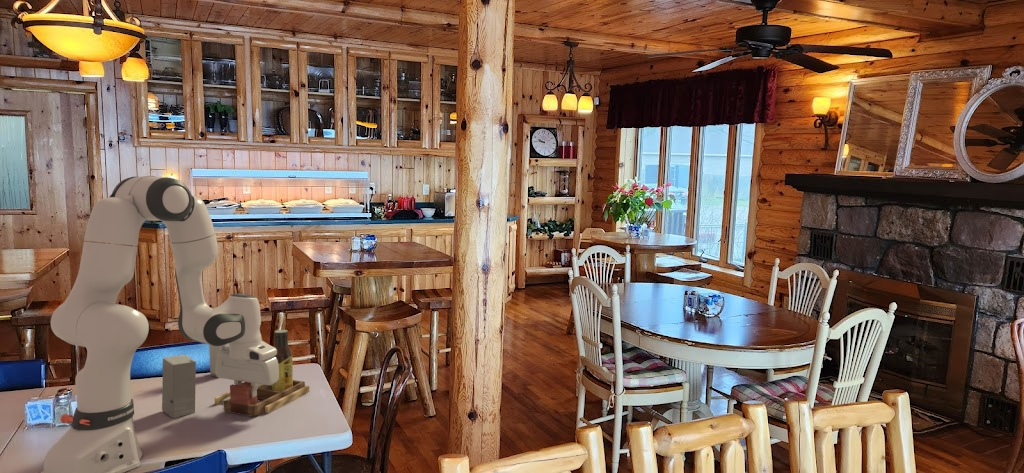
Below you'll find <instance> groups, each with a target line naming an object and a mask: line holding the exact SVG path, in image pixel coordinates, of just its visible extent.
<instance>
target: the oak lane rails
mask: <svg viewBox="0 0 1024 473" xmlns="http://www.w3.org/2000/svg"><path fill="white" fill-rule="evenodd" d="M308 392H309V393H310V385H305V387H303V388H301V389H299V390H297V391H295V392H293V393H291V394H289V395H287V396H285V397H283V398H281V399H279V400H277V401H275V402H273V403H271V404H269V405H267V406H265V412H264V414H270V413H272V412H274V411H276V410H278V409H280V408H281V407H284V406H286V405H287V404H290V403H291V402H293V401H295V400H297V399H298V398H301V397H303V396H305V395H307V394H309V393H308ZM306 393H307V394H306ZM302 395H303V396H302ZM228 397H230V390H229V391H227V392H225V393H223V394H221V395H218V396H215V397H214V405H215V406H218V404H219V405H220V404H223V403H222V400H224V399H226V398H228Z"/></svg>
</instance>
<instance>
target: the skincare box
mask: <svg viewBox="0 0 1024 473" xmlns="http://www.w3.org/2000/svg"><path fill="white" fill-rule="evenodd" d="M196 362H197V361H196V360H195V359H193V358H192V356H191V357H190V356H188V355H186V354H179V355H173V356H165V357H163V358H162V390H161V391H162V392H161V395H162V398H161V401H162V402H161V411H162V412H164V413H165V414H167V415H168V416H169V417H171V418H173V419H176V418H179V417H183V416H188V415H192V414H195V413H196V374H197V371H196V370H197V369H196V368H197V367H196V366H197V363H196Z"/></svg>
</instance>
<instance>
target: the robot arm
mask: <svg viewBox="0 0 1024 473" xmlns="http://www.w3.org/2000/svg"><path fill="white" fill-rule="evenodd" d="M90 212H91V213H90V214H89V215H90V216H89V218H88V220H87V224H86V229H85V233H84V238H83V244H82V253H81V258H80V264H79V269H78V273H77V276H76V279H75V281H74V283H73V286H72V289H71V290H70V293H69V294H68V295H67V298H65V300H64V302H63V303H61V304H60V305H59V306H58V307H56V308H55V310H54V311H53V313H52V316H51V317H50V329H51V331H52V332H53V334H54V335H55V336H56V337H57V338H59V339H61V340H62V341H64V342H66V343H68V344H70V345H73V346H76V347H77V346H79V347H83V348H86V351H87V352H86V360H85V363H84V365H83V368H81V369H80V370H79V371H78V372H77V374H76V375H75V393H76V394H75V395H76V408H75V411H74V412H73V415H72V414H67V413H63V414H62V415H61V416H60V418H59V421H60V423H61V424H62V423H63V424H65V425H66V424H67V425H68V424H69V425H70V427H69V429H68V430H66V432H65V433H63V435H62V436H61V437H60V438H59V439H58V440H57V441H56V442H55V443H54V444H53V445H52V446H51V448H49V450H48V451H47V452H46V454H45V456H44V461H43V462H44V463H43V470H42V471H40V472H39V473H126V472H128V471H131V470H134V469H136V468H138V467H140V465H141V462H140V461H141V460H140V459H141V458H142V456H143V451H142V450H141V448H140V445H139V441H138V438H137V435H136V434H137V433H136V429H135V423H134V418H133V417H134V415H135V405H134V399H133V398H132V392H131V391H132V390H131V368H132V362H133V359H134V356H135V353H136V351H137V349H138V348H140V347H141V346H142V345H143V344H144V343H145V341H146V339H147V338H148V334H149V330H150V325H149V321H148V319H147V317H146V315H145V314H143V313H142V312H141V311H139V310H137V309H134V307H133V308H132V307H131V306H128V305H124V304H118V303H116V302H117V299H118V297H119V294H120V292H121V291H122V289H123V288H124V287H125V286H126V285H127V284H128V283H129V282H131V281H132V279H133V278H134V275H135V268H136V261H137V252H138V245H139V238H140V237H139V236H140V235H139V233H140V230H141V228H142V226H143V224H144V223H145V222H146V221H150V222H151V221H154V222H158V221H161V222H162V223H163V224H164V225H165V227H166V230H167V234H168V235H167V236H168V238H169V243H170V247H171V251H172V255H173V256H172V257H173V261H174V264H173V265H174V276H175V282H176V289H177V294H178V301H179V312H178V314H179V315H178V321H177V325H178V326H177V328H178V331H179V333H180V334H181V335H182V336H183V337H184V339H187V340H189V341H193V342H199V343H202V344H206V345H208V346H209V345H212V346H221V347H220V348H218V350H217V358H216V365H215V374H216V376H217V377H216V378H219V379H225V380H231V381H233V385H239V384H241V383H244V382H250V383H251V386H253V387H252V389H251V390H250V391H249V393H250V397H255V396H257V389H258V387H259V385H260V384H263V385H272V384H274V383H276V382H277V381H278V379H279V366H278V361H277V359H276V357H274V356H275V355H276V354H277V349H276V348H275V346H272V345H270V344H268V343H267V342H265V341H263V338H262V336H263V335H262V334H261V325H262V319H261V316H262V315H261V307H260V302H259V299H258V298H257V297H256V296H255V295H252V294H247V293H246V294H245V293H232V294H229V296H228V297H227V299H226V300H224V302H222V303H221V304H220V305H218V306H216V307H214V308H211V307H210V306H209V305H208V304H207V302H206V300H205V296H204V288H203V281H202V273H203V271H204V270H205V269H206V268H208V267H210V266H211V265H212V264H213V263H214V262H215V260H216V259H217V257H218V252H219V251H218V250H219V248H218V247H219V246H218V240H217V235H216V231H215V228H214V224H213V220H212V218H211V215H210V212H209V210H208V208H207V206H206V204H205V202H204V200H202V198H200V197H198V196H195V195H192V193H191V190H190V189H189V187H187V185H186V184H185V183H183V182H182V181H180V180H179V179H176V178H174V177H173V178H172V177H167V176H165V177H162V176H157V175H156V176H154V175H142V176H130V177H127V178H125V179H122V180H121V181H120V182H118V184H116V186H115V187H114V189H113V190H112V193H111V194H110V195H109V197H105V198H102V199H99V200H98V201H96V202H95V204H94V205H93V207H92V209H91V211H90ZM228 343H229V347H226V346H222V345H225V344H228Z"/></svg>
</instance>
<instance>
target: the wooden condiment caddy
mask: <svg viewBox="0 0 1024 473" xmlns="http://www.w3.org/2000/svg"><path fill="white" fill-rule="evenodd" d="M305 386H306V383H305V381H302V380H295V379H293V386H292V387H290V388H288V389H286V390H284V391H282V392H281V391H275V390H272V385H263V384H261V385H259V387H258V389H257V396H255V397H250V393H249V391H250V390H251V389H252V387H253V386H251V383H250V382H244V381H243V382H242V383H241V384H239V385H235V384H234V383H232V384H230V385H229V391H230V399H227V400H225V401H224V404H223V412H227V413H233V414H238V415H243V416H250V417H257V416H259V415H261V414H263V413H265V406H267V405H269V404H271V403H273V402H275V401H277V400H279V399H281V398H283V397H285V396H287V395H289V394H291V393H293V392H295V391H297V390H299V389H301V388H303V387H305ZM258 399H261V400H262V401H260V402H258Z"/></svg>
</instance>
